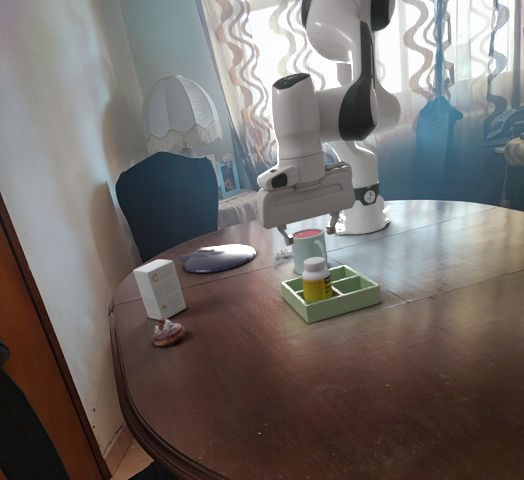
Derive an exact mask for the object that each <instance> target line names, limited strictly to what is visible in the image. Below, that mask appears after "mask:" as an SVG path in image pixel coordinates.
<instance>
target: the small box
mask: <svg viewBox="0 0 524 480" xmlns="http://www.w3.org/2000/svg"><path fill="white" fill-rule="evenodd" d="M132 271H133V275H134V278H135V280H136V281H135V282H136V284H137V287H138V290H139V292H140V296H141V299H142V302H143V304H144V305H143V306H144V308H145V310H146V313H147V317H148V318H150V319H154V320H157V321H159V320H160V319H161V318H162V317H164V318H165V319H166V320H168V319H169V318H171V317H172V316H174V315H176V314H178V313H180V312H182V311H183V310H185V309H187V306H186V301H185V299H184V295H183V292H182V288H181V284H180V280H179V277H178V273H177V270H176V266H175V263H174V260H170V259H162V258H161V259H160V258H157V259H155V260H153V261H151V262H148V263H146V264H143V265H142V266H139V267H137V268H135V269H133V270H132Z"/></svg>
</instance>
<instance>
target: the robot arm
mask: <svg viewBox="0 0 524 480" xmlns="http://www.w3.org/2000/svg"><path fill="white" fill-rule="evenodd" d="M395 8H396V0H301V6H300V19H301V24H302V28H303V31H304V33H305V35H306V40H307V43H308V45H309V47H310V49H311V50H312V51H313V53H314V54H315V55H316V56H317V57H319V58H320V59H322V60H324V61H326V62H330V63H333V65H334V79H335V82H336V84H337V85H338V86H335V87H330V88H325V89H324V88H323V89H319V90H316V87H315V82H314V80H313V79H314V78H313V76H312V74H310V73H307V72H298V73H293V74H289V75H286V76H284V77H281V78H278V79H277V80H276V81H274V83H273V84H272V85H271V90H270V111H271V122H272V129H273V135H274V138H275V141H276V143H277V144H276V145H277V164H276V165H274V166H273V167H271V168H269V169H268V170H266V171H264V172H263V173H261V174H260V175H258V177H257V179H256V181H257V185H258V187H259V188H260V189H259V190H258V192H257V195H256V212H257V221H258V223H259V225H260V226H261V227H263V228H264V229H266V230H270V229H271V230H272V229H275V228H276V230H277V231H278V232H279V233H280V234H281V236H282V237H283V241H284V244H285V246H286V247H290V246H291V245H293V244H294V241H293V240H294V239H293V236H291V234H288V233H287V232H286V230H288V227H287V225H290V224H295V223H299V222H302V221H306V220H310V219H313V218H314V219H315V218H318V217H322V216H326V215H329V216H330V217H331V218H330V221H329V222H328V224H327V225H325V229H326V231H325V232H326V234H327V235H328V236H331V235H335V234H337V235H338V236H339V235H340V236H342V235H363V234H364V235H365V234H370V233H373V232H377V231H380V230H383V229H384V228H386V226H387V224H388V223H390V218H387V217H386V216H387V215H386V212H387V211H389V210H390V209H391V206H390V205H388V206H387V207H386V206H385V199H384V197H383V196H381V195H380V194H381V183H380V181H379V170H378V158H377V155H376V154H375V153H373V152H372V151H370V150H368V149H366V148H363V147H359V146H358V145H357V144H356V142H363V141H365V140H366V139H367V138H368V137H370V136H376V135H381V134H383V133H386V132H388V131H391V130H394V129H395V128H396V127H397V125H398V123H399V121H400V119H401V113H402V107H401V103H400V100H399V99H398V97H397V96H396V95H395V94H394V93H392V92H390V91H389V90H387V89H386V88H385V87H384V86H383V84H382V83H381V82H380V80H379V77H378V72H377V61H376V60H377V59H376V58H377V57H376V56H377V55H376V49H377V48H376V33H378V32H381V31H383V30H385V29H386V28H387V27H388V26H389V25H390V23H391V21H392V18H393V16H394V13H395ZM324 144H326V145H327V146H329V148H331V150H332V151H333V152H334V153H335V155H336V158H337V159H338V161H337V162H334V163H327V164H325V155H324V147H323V145H324Z"/></svg>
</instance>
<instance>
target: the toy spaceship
mask: <svg viewBox="0 0 524 480" xmlns="http://www.w3.org/2000/svg"><path fill="white" fill-rule="evenodd" d="M256 255H257V251H256V250H255V248H253V247H252V246H249V245H245V244H224V245H219V246H218V245H217V246H208V247H204V246H203V247H198V249H197V250H195V251H193V252H191V253H189V254H185V255H184V254H183V255H178V256H177V259H178V260H181V261H184V264H183V269H184V270H185V271H187V272H188V273H189V272H190V273H195V274H208V273H215V272H221V271H226V270H229V269H233V268H237V267H240V266H242V265H244V264H246V263H248V262H250V261H251V260H253V259H254V258H255V256H256Z"/></svg>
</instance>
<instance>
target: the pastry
mask: <svg viewBox="0 0 524 480" xmlns="http://www.w3.org/2000/svg"><path fill="white" fill-rule="evenodd" d="M185 335H186V330H185V326H183V325H182V324H180V323H172V321H171V320H170V319H165V318H164V317H162V318H161V319H160V320H157V322H156V323H155V326H154V334H153V335H152V341H153V345H154V346H156V347H170V346H173V345H175V344H177V343H178V342H180V341H182V340H183V338H184V336H185Z"/></svg>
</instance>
